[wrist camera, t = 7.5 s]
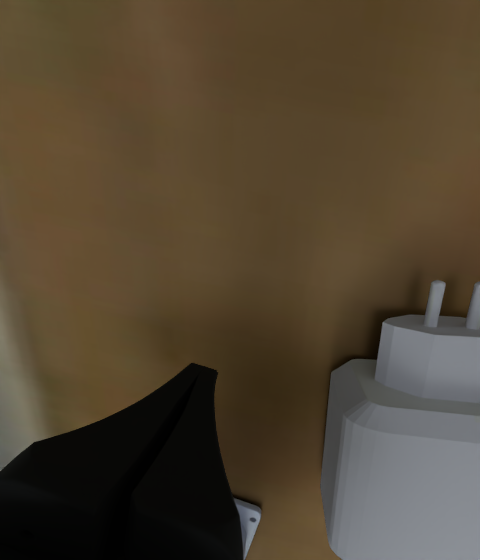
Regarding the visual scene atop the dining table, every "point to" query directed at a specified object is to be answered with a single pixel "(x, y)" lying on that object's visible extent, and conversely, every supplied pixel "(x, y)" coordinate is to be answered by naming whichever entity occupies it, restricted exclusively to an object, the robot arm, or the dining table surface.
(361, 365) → the charger
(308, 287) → the dining table surface
